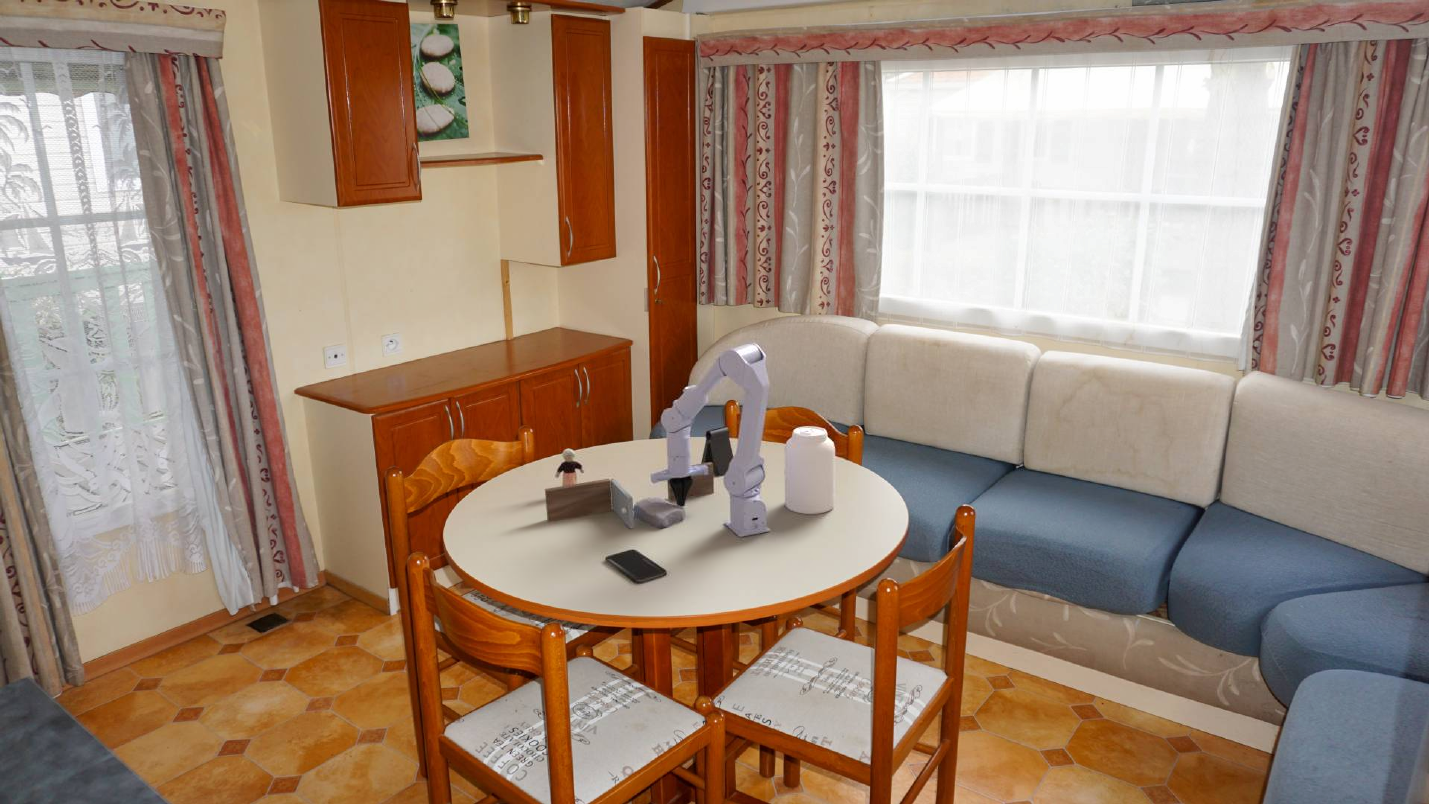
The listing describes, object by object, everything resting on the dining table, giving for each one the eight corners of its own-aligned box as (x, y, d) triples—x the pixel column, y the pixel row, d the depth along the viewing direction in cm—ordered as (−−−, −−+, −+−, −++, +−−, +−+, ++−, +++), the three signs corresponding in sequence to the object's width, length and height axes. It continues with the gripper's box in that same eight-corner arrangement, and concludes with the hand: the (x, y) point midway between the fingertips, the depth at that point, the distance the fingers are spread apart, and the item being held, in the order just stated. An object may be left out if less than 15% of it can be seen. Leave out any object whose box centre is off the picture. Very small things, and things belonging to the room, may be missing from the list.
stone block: (659, 513, 250) (628, 516, 243) (662, 495, 250) (631, 497, 243) (690, 528, 242) (659, 531, 235) (693, 509, 241) (661, 512, 234)
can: (809, 519, 239) (809, 441, 234) (774, 505, 248) (773, 429, 243) (845, 506, 247) (846, 430, 241) (809, 493, 256) (809, 419, 251)
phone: (637, 581, 207) (603, 557, 219) (637, 586, 207) (603, 561, 219) (668, 571, 211) (634, 548, 223) (669, 576, 212) (634, 552, 224)
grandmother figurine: (561, 499, 256) (558, 453, 252) (555, 495, 259) (551, 449, 256) (588, 493, 260) (585, 447, 256) (581, 489, 263) (578, 443, 260)
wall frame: (713, 492, 258) (713, 463, 256) (548, 521, 242) (546, 490, 240) (711, 490, 259) (710, 462, 257) (547, 519, 243) (544, 489, 241)
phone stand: (736, 471, 273) (735, 430, 270) (719, 476, 270) (718, 434, 266) (717, 463, 280) (716, 423, 277) (700, 468, 277) (699, 427, 274)
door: (606, 508, 248) (605, 480, 246) (615, 506, 249) (613, 478, 247) (624, 529, 235) (623, 499, 233) (633, 527, 236) (632, 497, 234)
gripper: (700, 444, 248) (701, 495, 252) (645, 453, 243) (647, 504, 246) (710, 452, 242) (712, 504, 246) (655, 461, 237) (657, 514, 240)
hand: (680, 505), depth 246 cm, fingers closed
